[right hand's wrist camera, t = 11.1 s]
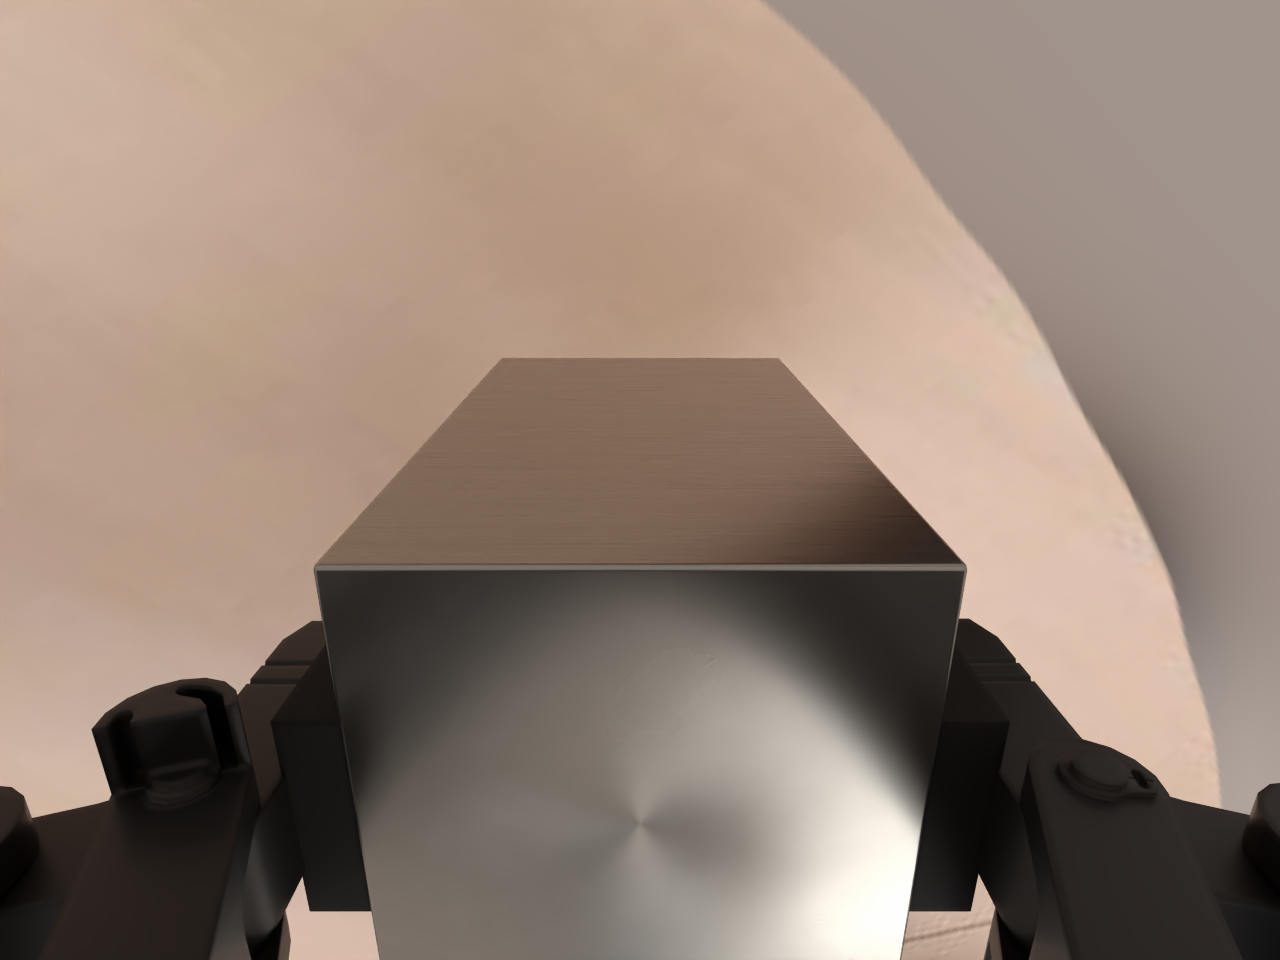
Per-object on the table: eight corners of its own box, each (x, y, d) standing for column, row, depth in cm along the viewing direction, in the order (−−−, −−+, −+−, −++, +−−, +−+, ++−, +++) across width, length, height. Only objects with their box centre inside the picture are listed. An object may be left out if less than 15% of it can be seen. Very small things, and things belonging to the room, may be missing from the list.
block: (516, 603, 19) (387, 1020, 9) (500, 357, 17) (310, 565, 7) (763, 604, 19) (892, 1020, 9) (779, 357, 17) (970, 565, 7)
